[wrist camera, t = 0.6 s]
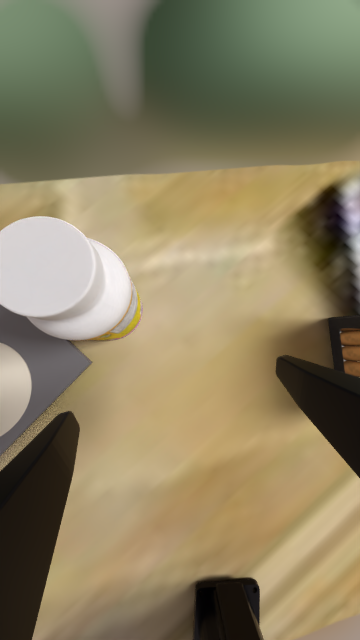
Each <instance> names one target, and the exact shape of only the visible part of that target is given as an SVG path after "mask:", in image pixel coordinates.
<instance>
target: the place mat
mask: <svg viewBox="0 0 360 640" xmlns="http://www.w3.org/2000/svg"><path fill="white" fill-rule="evenodd" d="M91 363H92V362H91V361H90V360H89V359H88V358H87V357H86V356H85V355H84V354H83V353H82V352H81V351H80V350H79V349H77V348H76V347H75V346H74V345H73V344H72V343H71V342H70V341H69V340H66V339H60V338H57V337H54V336H51V335H49V334H46V333H45V332H43V331H41V330H40V329H38V328H37V327H36V326H35V325H33V324H32V323H31V321H30V320H29V319H28V318H27V317H26V316H22V315H19V314H16V313H13V312H12V311H10V310H8V309H6V308H5V307H3V306H2V305H1V304H0V456H1V455H2V454H3V453H4V452H5V451H6V450H7V449H8V448H9V447H10V446H11V445H12V444H13V443H14V442H15V441H16V440H17V439H18V438H19V437H20V436H21V434H22V433H23V432H24V431H25V430H26V429H27V428H28V427H29V426H30V425H31V424H32V423H33V422H34V421H35V420H36V419H37V418H38V417H39V416H40V415H41V414H42V413H43V412H44V411H45V410H46V409H47V408H48V407H49V406H50V405H51V404H52V403H53V402H54V401H55V400H56V399H57V398H58V397H59V396H60V395H61V394H62V393H63V392H64V391H65V390H66V389H67V388H68V387H69V386H70V385H71V384H72V383H73V382H74V381H75V380H76V379H77V378H78V376H79V375H80V374H81V373H82V372H83V371H84V370H85V369H86V368H87V367H88V366H89V365H90V364H91Z"/></svg>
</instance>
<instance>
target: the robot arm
mask: <svg viewBox="0 0 360 640" xmlns="http://www.w3.org/2000/svg"><path fill="white" fill-rule="evenodd" d="M276 375H277V377H278V378H279V379H280V381H281V382H282V384H283V385H284V387H285V388H286V389H287V391H288V392H289V394H290V395H291V396H292V398H293V399H294V401H295V402H296V403H297V405H298V406H299V407H300V409H301V410H302V411H303V412H304V413H305V415H306V416H307V417H308V418H309V419H310V420H311V422H312V423H313V424H314V425H315V426H316V427H317V429H318V430H319V431H320V432H321V433H322V434H323V436H324V437H325V438H326V439H327V440H328V442H329V443H330V444H331V445H332V446H333V447H334V449H335V450H336V451H337V452H338V453H339V454H340V456H341V457H342V458H343V459H344V460H345V461H346V463H347V464H348V465H349V466H350V467H351V469H352V470H353V471H354V472H355V473H356V474H357V476H358V477H359V478H360V378H359V377H356V376H353V375H350V374H346V373H343V372H340V371H337V370H333V369H330V368H327V367H324V366H321V365H317V364H314V363H311V362H308V361H305V360H301V359H298V358H295V357H292V356H288V355H283V356H279V357H278V358H277V360H276ZM79 432H80V427H79V424H78V422H77V420H76V418H75V416H74V414H73V413H72V412H71V411H68V412H64V413H61V414H59V415H57V416H56V417H55V418H54V419H53V420H52V421H51V422H50V423H49V424H48V425H47V426H46V427H45V428H44V429H43V430H42V431H41V432H40V433H39V434H38V435H37V436H36V437H35V438H34V439H33V440H32V441H31V442H30V443H29V444H28V445H27V446H26V447H25V448H24V449H23V450H22V451H21V452H20V453H19V454H18V455H17V456H16V457H15V458H14V459H13V460H12V461H11V462H10V463H9V464H8V465H6V466H5V467H4V468H3V469H2V470H1V471H0V640H32V637H33V633H34V629H35V625H36V621H37V617H38V613H39V609H40V605H41V601H42V597H43V593H44V589H45V585H46V581H47V577H48V573H49V569H50V565H51V561H52V557H53V553H54V549H55V545H56V541H57V537H58V533H59V529H60V525H61V521H62V517H63V513H64V509H65V505H66V501H67V497H68V493H69V489H70V485H71V480H72V476H73V471H74V465H75V458H76V452H77V445H78V438H79ZM259 602H260V589H259V586H258V583H257V581H256V580H254V579H249V580H233V581H217V582H201V583H198V584H197V585H196V588H195V607H194V630H193V640H264V639H263V636H262V633H261V630H260V627H259Z"/></svg>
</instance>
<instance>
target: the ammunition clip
mask: <svg viewBox="0 0 360 640" xmlns="http://www.w3.org/2000/svg"><path fill="white" fill-rule="evenodd" d="M328 321H329V329H330V338H331V346H332V354H333V362H334V370H337V371H340V372H343V373H346V374H350V375H353V376H356V377H360V362H357V361H360V331H357V330H360V315H355V316H343V317H331V318H329V319H328Z"/></svg>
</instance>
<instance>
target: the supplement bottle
mask: <svg viewBox="0 0 360 640" xmlns="http://www.w3.org/2000/svg"><path fill="white" fill-rule="evenodd" d="M0 304H1V305H2V306H3V307H5V308H6V309H8V310H10V311H12V312H13V313H16V314H19V315H22V316H26V317H27V318H28V319H29V320H30V321H31V323H32V324H33V325H35V326H36V327H37V328H38V329H40V330H41V331H43V332H45V333H46V334H49V335H51V336H54V337H57V338H60V339H66V340H116V339H120V338H123V337H125V336H127V335H129V334H130V333H132V332H133V331H134V330H135V329H136V327H137V326H138V324H139V322H140V320H141V317H142V302H141V299H140V297H139V294H138V292H137V290H136V288H135V286H134V284H133V282H132V280H131V278H130V276H129V274H128V271H127V269H126V267H125V266H124V264H123V262H122V261H121V259H120V258H119V257H118V256H117V255H116V254H115V253H114V252H113V251H112V250H111V249H110V248H108V247H107V246H105V245H103V244H102V243H100V242H98V241H95V240H92V239H89V238H86V237H85V235H84V234H83V233H82V232H81V231H79V230H78V229H77V228H76V227H74V226H73V225H71V224H69V223H67V222H65V221H63V220H60V219H57V218H52V217H44V216H37V217H29V218H25V219H21V220H18V221H16V222H14V223H11V224H10V225H8V226H6V227H5V228H4V229H2V230H1V231H0Z"/></svg>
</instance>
